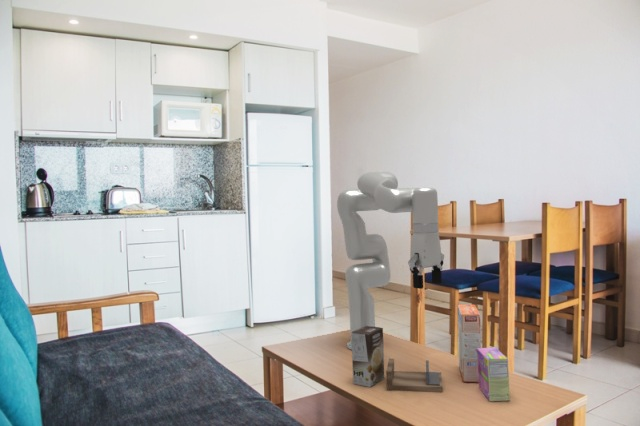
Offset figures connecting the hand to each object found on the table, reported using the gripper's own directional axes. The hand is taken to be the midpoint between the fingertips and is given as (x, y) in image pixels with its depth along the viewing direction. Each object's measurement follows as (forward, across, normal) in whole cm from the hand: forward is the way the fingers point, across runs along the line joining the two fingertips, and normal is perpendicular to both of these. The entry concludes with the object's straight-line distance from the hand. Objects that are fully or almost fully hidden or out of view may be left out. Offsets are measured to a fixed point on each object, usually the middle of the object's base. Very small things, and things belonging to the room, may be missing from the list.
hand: (427, 285), depth 152 cm
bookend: (+28, +1, +1) cm, 28 cm away
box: (+30, -4, +18) cm, 35 cm away
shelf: (+30, +4, -3) cm, 30 cm away
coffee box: (+30, +11, -15) cm, 35 cm away
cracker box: (+30, -13, +6) cm, 33 cm away
